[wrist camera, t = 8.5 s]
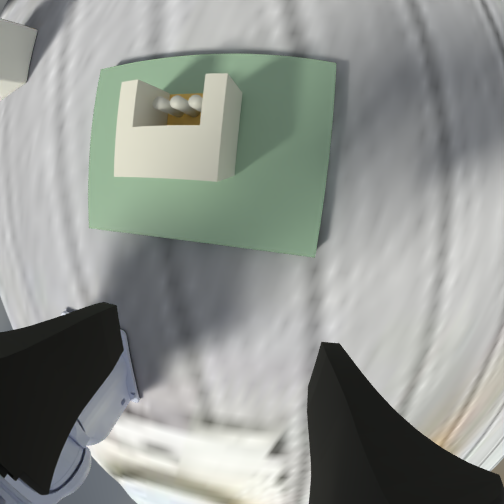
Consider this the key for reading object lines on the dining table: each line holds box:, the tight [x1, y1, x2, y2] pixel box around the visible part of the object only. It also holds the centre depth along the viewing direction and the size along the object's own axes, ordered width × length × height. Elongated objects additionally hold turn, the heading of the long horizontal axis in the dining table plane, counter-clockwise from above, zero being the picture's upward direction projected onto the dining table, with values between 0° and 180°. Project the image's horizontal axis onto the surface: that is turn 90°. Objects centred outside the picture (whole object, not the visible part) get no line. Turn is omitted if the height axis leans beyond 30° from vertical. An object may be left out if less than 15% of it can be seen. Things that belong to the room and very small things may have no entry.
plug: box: [114, 73, 242, 182], centre depth 13 cm, size 5×6×4 cm
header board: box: [88, 54, 336, 258], centre depth 14 cm, size 12×16×4 cm
